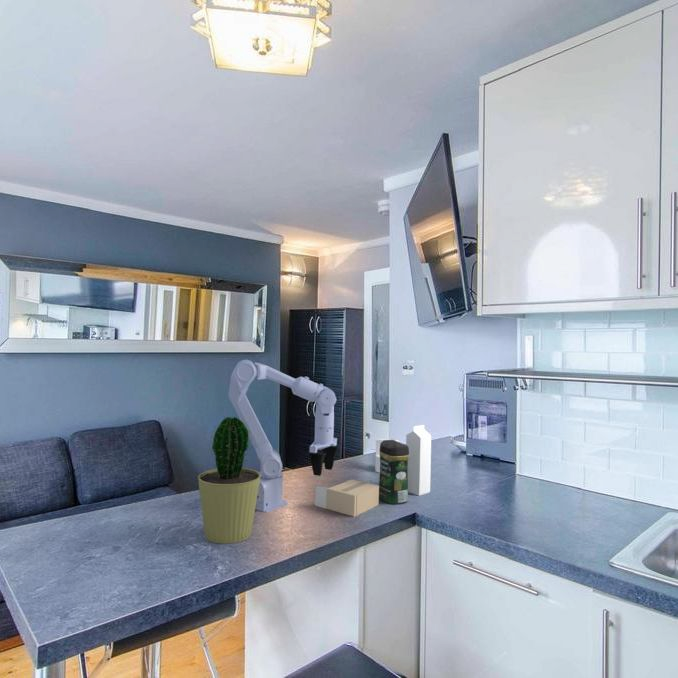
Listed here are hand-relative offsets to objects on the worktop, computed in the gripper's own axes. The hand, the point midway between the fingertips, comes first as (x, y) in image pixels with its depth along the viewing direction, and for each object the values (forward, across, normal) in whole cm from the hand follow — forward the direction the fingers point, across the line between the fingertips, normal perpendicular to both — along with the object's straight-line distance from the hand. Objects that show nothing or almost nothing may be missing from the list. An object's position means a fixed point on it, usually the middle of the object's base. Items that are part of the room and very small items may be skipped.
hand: (323, 472), depth 144 cm
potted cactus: (+10, -32, +10) cm, 35 cm away
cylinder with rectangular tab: (+10, +46, -5) cm, 47 cm away
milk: (+10, +26, -22) cm, 35 cm away
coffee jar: (+10, +13, -18) cm, 24 cm away
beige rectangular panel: (+9, -4, -6) cm, 12 cm away
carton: (+9, +2, -10) cm, 14 cm away
